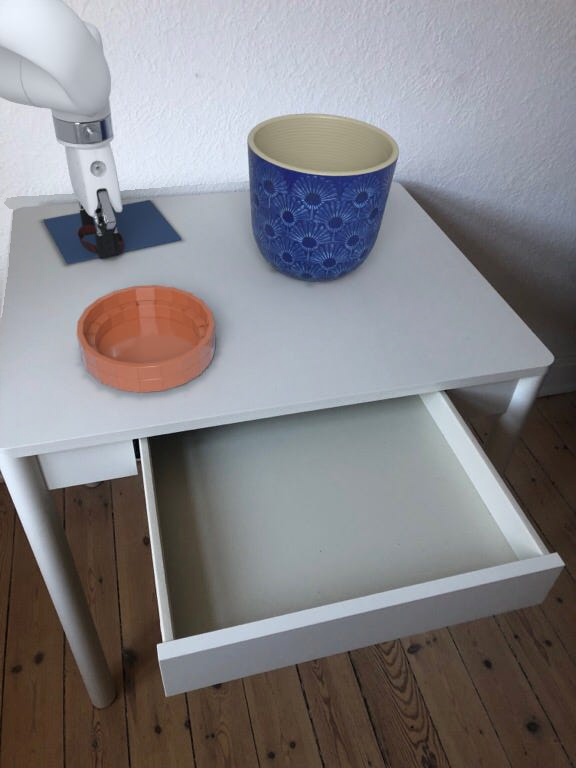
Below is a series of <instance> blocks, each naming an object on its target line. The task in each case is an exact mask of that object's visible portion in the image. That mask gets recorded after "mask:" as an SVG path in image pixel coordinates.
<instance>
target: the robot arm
mask: <svg viewBox="0 0 576 768" xmlns="http://www.w3.org/2000/svg"><path fill="white" fill-rule="evenodd" d="M111 91H112V77H111V70H110V67H109V63H108V61H107V59H106V56H105V52H104V43H103V38H102V34H101V32H100V31H99V29H98V27H96V25H94V24H93V23H90V22H88V21H86V20H82V18H81V17H80V16H79V15H78V14H77V13H76V12H75V10H73V9H72V7H70V6H69V5H68V4H67V3H66V2H65V1H64V0H0V98H1V99H3V100H6V101H8V102H11V103H14V104H19V105H24V106H29V107H34V108H39V109H47V110H50V111H51V118H52V122H53V123H52V124H53V128H54V134H55V138H56V141H57V143H59V144H60V145H62V146H64V148H65V155H66V162H67V167H68V168H67V169H68V174H69V179H70V184H71V187H72V190H73V193H74V195H75V197H76V198H77V200H78V206H79V209H80V210H79V213H80V216H81V222H82V226H84V225H95V228H96V232H97V233H96V234H95V240H96V246H97V253H98V257H99V258H98V259H100V260H103V259H109V258H113V257H117V256H121V253H120V248H119V240H118V233H117V227H116V219H115V216H114V213H113V210H112V207H113V209H114V210H115V212H118V213H121V212H122V210H123V206H122V205H123V201H122V196H121V195H122V194H121V189H120V181H119V178H118V177H119V176H118V173H117V172H118V171H117V167H116V162H115V161H116V160H115V158H114V157H115V156H114V153H113V149H112V146H111V142H112V141H113V140H114V138H115V135H114V134H115V133H114V126H113V125H114V124H113V117H112V111H111V110H112V109H111V102H110V95H111ZM103 217H104V222H103ZM100 224H101V226H100ZM90 234H94V233H90ZM87 235H89V234H87Z"/></svg>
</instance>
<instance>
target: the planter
mask: <svg viewBox="0 0 576 768" xmlns="http://www.w3.org/2000/svg"><path fill="white" fill-rule="evenodd" d="M246 141H247V162H248V177H249V178H248V181H249V183H248V184H249V200H250V201H249V202H250V219H251V228H252V233H253V238H254V241H255V243H256V247H257V248H258V250H259V253H260V254H261V256H262V257H263V258H264V259H265V261H266V262H268V263H269V265H270V266H271V267H272V268H274V269H275V270H276V271H278V272H279V273H282V274H284V275H286V276H287V277H291V278H292V279H293V278H294V279H297V280H301V281H307V282H327V281H332V280H337V279H340V278H343V277H345V276H347V275H349V274H351V273H353V272H354V271H356V270H357V269H358V268H359V267H360V266H362V265H363V263H364V262H365V261H366V260H367V258H368V257H369V256H370V254H371V253H372V250H373V249H374V246H375V244H376V242H377V239H378V237H379V233H380V230H381V225H382V222H383V218H384V213H385V210H386V206H387V202H388V200H389V194H390V191H391V186H392V183H393V178H394V174H395V171H396V167H397V164H398V160H399V155H400V147H399V145H398V143H397V141H396V140H395V138H393V136H392V135H390V134H389V133H387V132H386V131H385V130H383V129H381V128H380V127H378V126H376V125H374V124H371V123H369V122H366V121H363V120H359V119H355V118H352V117H347V116H341V115H337V114H336V115H335V114H327V113H311V112H309V113H292V114H285V115H279V116H275V117H271V118H269V119H266V120H264V121H261V122H259V123H257V124H256V125H255V126H254V127H253V128H252V129H251V130H250V131H249V132H248V134H247V139H246Z"/></svg>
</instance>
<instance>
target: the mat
mask: <svg viewBox="0 0 576 768" xmlns="http://www.w3.org/2000/svg"><path fill="white" fill-rule="evenodd" d="M122 206H123V210H122V212H121V213H118V212H115V210H114V209H113V207H112V206H111V207H112V210H113V213H114V216H115V219H116V227H117V233H119V234H120V235H121V236H122V238H123V241H124V249H123V251H121V252H120V254H122V253H127V252H131V251H136V250H137V251H138V250H141V249H147V248H150V247H155V246H160V245H164V244H169V243H173V242H178V241H179V242H180V241H181V240H182V238H181V237H180V235H179V234H178V233H177V232H176V230H175V229H174V228H173V226H172V225H171V224H170V222H168V220H167V219H166V218H165V217H164V215H163V214H162V213H161V212H160V211H159V209H158V208H157V207H156V206H155V204H154V203H153V202H152V200H151V199H147V200H142V201H137V202H131V203H126V204H122ZM103 222H104V217H103ZM43 223H44V225H45V226H46V228H47V230H48V232H49V234H50V235H51V238H52V239H53V241H54V243H55V245H56V246H57V248H58V250H59V252H60V254H61V256H62V258H63V260H64V261H65V263H66V265H70V264H76V263H81V262H85V261H90V260H94V259H100V258H99V257H98V253H96V254H95V253H93V252H90V251H89V250H87V249H86V248H85V247H84V246H83V245H82V244H81V241H80V239H79V237H78V230H79V229H80V228H81V227H82V222H81V216H80V212H77V213H71V214H66V215H61V216H60V215H59V216H55V217H50V218H44V219H43ZM95 234H96V233H94V234H89V235H85V236H84V237H83V238H82V240H83V241H84V242H88V243H90V244H93V245H96V240H95ZM119 243H120V241H119Z"/></svg>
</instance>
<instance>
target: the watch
mask: <svg viewBox="0 0 576 768" xmlns="http://www.w3.org/2000/svg"><path fill="white" fill-rule="evenodd" d="M100 226H101V224H100ZM90 233H97V232H96V228H95V225H84V226H82V227H81V228H80V229H79V230H78V237H79V239H80V241H81V244H82V245H83V246H84V247H85V248H86V249H87V250H89V251H90V252H93V253H95V254H96V253H97V246H96V245H93V244H90V243H88V242H84V241H83V240H82V238H83V237H84V236H85V235H87V234H90ZM118 240H119V241H120V243H119V248H120V252H121V251H123V249H124V241H123V238H122V236H121V235H120V234H119V233H118Z"/></svg>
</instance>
